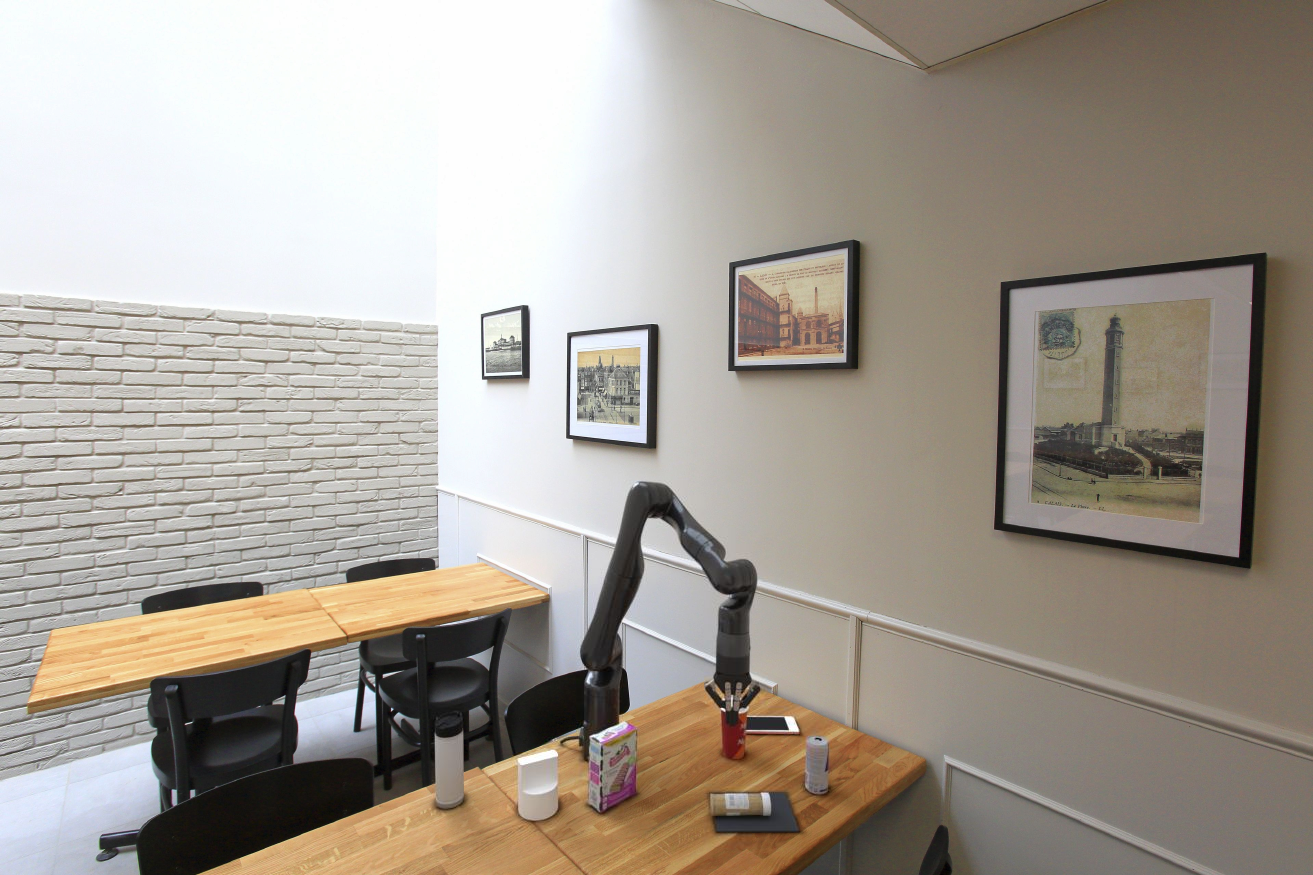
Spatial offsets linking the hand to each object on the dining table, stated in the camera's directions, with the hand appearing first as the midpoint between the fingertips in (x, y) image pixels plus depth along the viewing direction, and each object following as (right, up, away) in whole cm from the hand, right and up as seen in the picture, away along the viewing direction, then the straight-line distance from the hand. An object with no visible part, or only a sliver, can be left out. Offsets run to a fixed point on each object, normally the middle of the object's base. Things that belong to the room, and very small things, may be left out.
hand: (731, 724), depth 146 cm
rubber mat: (+5, -21, +2) cm, 22 cm away
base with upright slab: (-44, -21, +3) cm, 49 cm away
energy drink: (+22, -21, +12) cm, 32 cm away
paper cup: (+4, -20, +27) cm, 34 cm away
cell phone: (+14, -19, +41) cm, 48 cm away
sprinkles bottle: (-5, -18, +1) cm, 19 cm away
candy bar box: (-27, -21, +7) cm, 35 cm away
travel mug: (-65, -21, +6) cm, 68 cm away
